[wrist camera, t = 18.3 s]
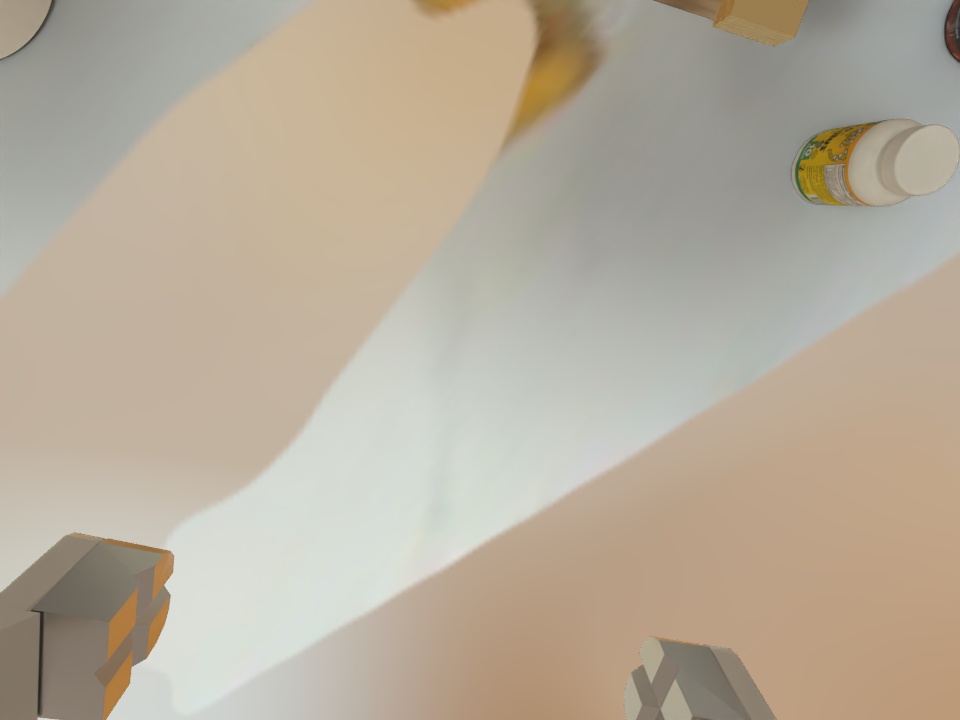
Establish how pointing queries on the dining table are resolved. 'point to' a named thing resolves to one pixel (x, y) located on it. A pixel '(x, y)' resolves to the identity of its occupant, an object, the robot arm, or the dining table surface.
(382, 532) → the dining table surface
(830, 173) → the supplement bottle
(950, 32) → the supplement bottle
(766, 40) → the lever cap
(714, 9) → the stepped stand
